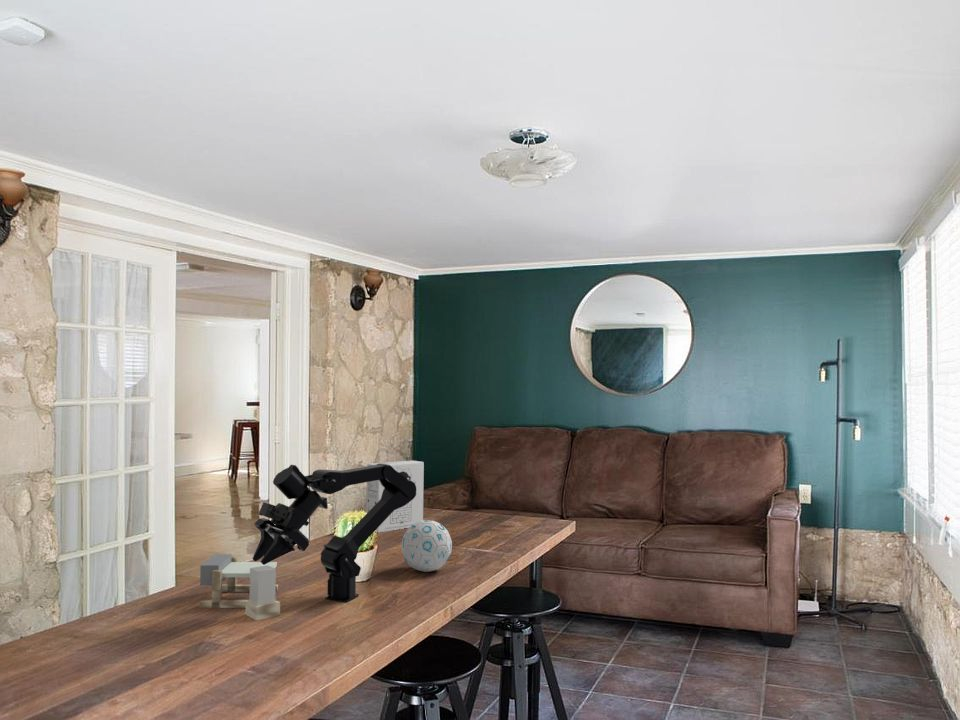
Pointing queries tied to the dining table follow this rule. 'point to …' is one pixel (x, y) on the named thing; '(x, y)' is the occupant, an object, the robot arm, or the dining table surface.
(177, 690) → the dining table surface
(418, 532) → the puzzle ball
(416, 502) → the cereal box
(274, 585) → the grey tall block
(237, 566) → the trapdoor
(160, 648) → the dining table surface
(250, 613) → the stone riser
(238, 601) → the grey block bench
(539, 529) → the dining table surface
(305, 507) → the robot arm
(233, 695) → the dining table surface
